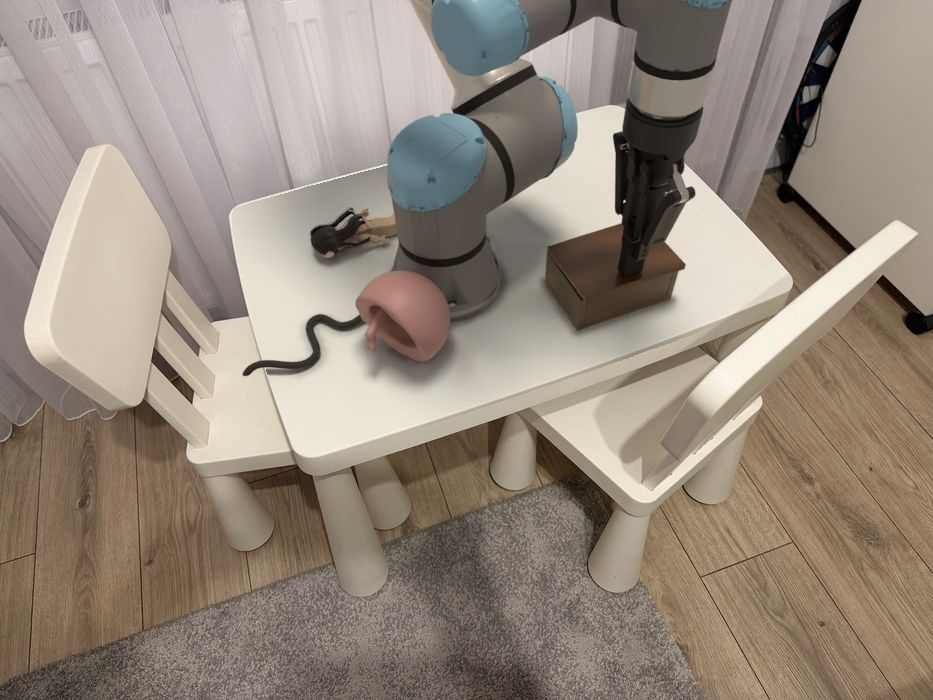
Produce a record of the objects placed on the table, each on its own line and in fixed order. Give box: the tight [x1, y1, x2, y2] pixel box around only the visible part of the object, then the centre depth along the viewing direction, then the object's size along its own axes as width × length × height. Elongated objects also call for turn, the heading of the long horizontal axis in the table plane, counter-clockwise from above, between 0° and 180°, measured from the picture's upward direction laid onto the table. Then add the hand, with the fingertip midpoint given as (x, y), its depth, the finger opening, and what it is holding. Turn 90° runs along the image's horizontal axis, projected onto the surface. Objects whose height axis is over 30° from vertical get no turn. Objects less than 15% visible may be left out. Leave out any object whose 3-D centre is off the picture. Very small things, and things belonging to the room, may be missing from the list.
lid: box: [546, 222, 687, 302], centre depth 88 cm, size 11×14×1 cm
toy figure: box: [309, 206, 398, 259], centre depth 100 cm, size 7×6×15 cm
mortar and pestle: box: [354, 270, 451, 363], centre depth 84 cm, size 12×12×11 cm
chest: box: [544, 251, 680, 332], centre depth 91 cm, size 10×14×6 cm
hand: (629, 270), depth 85 cm, fingers closed
